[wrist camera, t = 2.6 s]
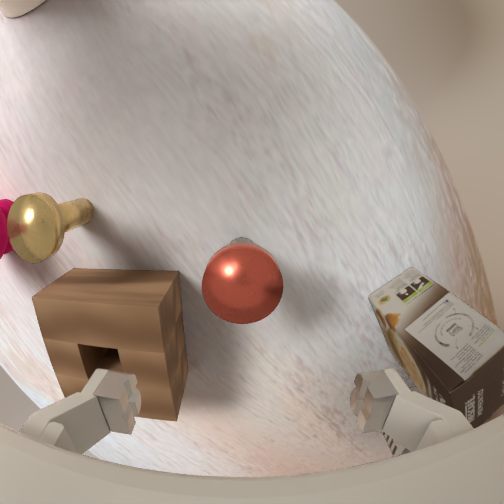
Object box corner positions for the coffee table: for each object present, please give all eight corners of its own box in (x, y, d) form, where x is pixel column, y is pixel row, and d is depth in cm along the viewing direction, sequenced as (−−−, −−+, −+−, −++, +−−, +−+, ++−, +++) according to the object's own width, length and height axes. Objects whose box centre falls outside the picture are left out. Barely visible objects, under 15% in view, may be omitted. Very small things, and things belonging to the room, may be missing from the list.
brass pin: (61, 187, 25) (4, 197, 17) (103, 183, 26) (50, 191, 17) (65, 237, 27) (12, 262, 18) (106, 236, 27) (57, 263, 18)
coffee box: (364, 296, 30) (448, 392, 14) (412, 264, 29) (514, 334, 13) (389, 352, 32) (455, 445, 16) (431, 324, 31) (509, 401, 16)
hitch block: (73, 268, 28) (31, 297, 20) (179, 270, 28) (158, 306, 20) (94, 361, 31) (67, 402, 23) (188, 371, 31) (176, 421, 24)
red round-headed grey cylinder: (213, 223, 27) (200, 248, 18) (270, 223, 27) (285, 248, 18) (214, 277, 28) (203, 323, 20) (269, 277, 29) (280, 323, 20)
